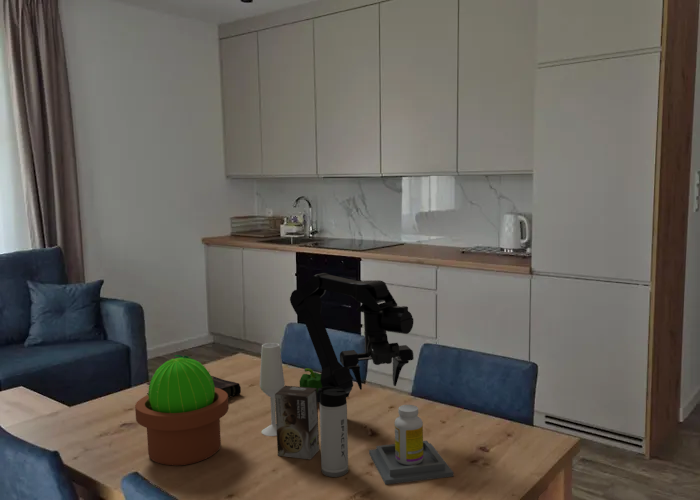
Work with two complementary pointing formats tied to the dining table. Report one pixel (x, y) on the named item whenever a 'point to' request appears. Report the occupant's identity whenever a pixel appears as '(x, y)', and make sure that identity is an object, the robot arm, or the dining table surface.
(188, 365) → the potted cactus
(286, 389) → the cookie box
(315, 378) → the bell pepper
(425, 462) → the holder board
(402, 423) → the supplement bottle
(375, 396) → the dining table surface
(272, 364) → the champagne flute
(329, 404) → the travel mug
